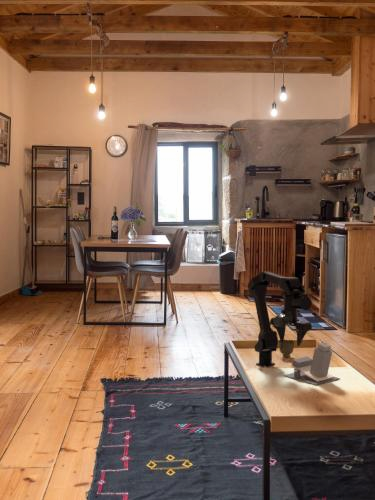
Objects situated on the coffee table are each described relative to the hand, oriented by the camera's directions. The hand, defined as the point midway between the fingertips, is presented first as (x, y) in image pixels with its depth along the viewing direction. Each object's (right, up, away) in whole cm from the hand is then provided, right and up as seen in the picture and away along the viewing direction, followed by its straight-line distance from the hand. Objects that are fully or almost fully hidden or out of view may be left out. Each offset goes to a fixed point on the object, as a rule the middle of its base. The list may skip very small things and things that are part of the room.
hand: (290, 343), depth 225 cm
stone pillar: (+10, -11, -8) cm, 17 cm away
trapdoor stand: (+8, -13, -5) cm, 16 cm away
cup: (+4, -12, +31) cm, 34 cm away
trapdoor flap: (+8, -11, -5) cm, 14 cm away
